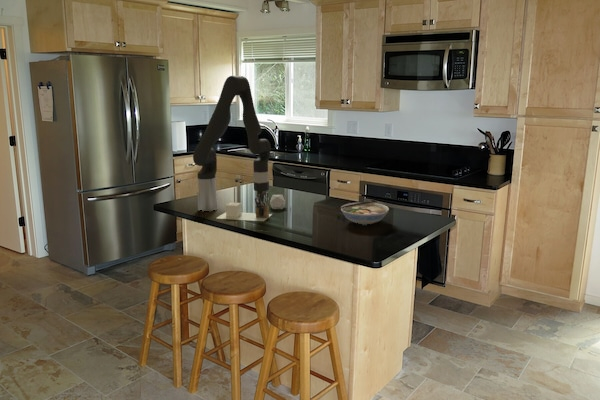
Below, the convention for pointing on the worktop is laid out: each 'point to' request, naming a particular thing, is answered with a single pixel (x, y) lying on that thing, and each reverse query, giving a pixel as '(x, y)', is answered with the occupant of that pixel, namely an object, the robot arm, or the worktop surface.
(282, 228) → the worktop surface
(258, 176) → the robot arm
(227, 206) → the cube
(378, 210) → the ramen bowl
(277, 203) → the die
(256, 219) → the white tray with block
